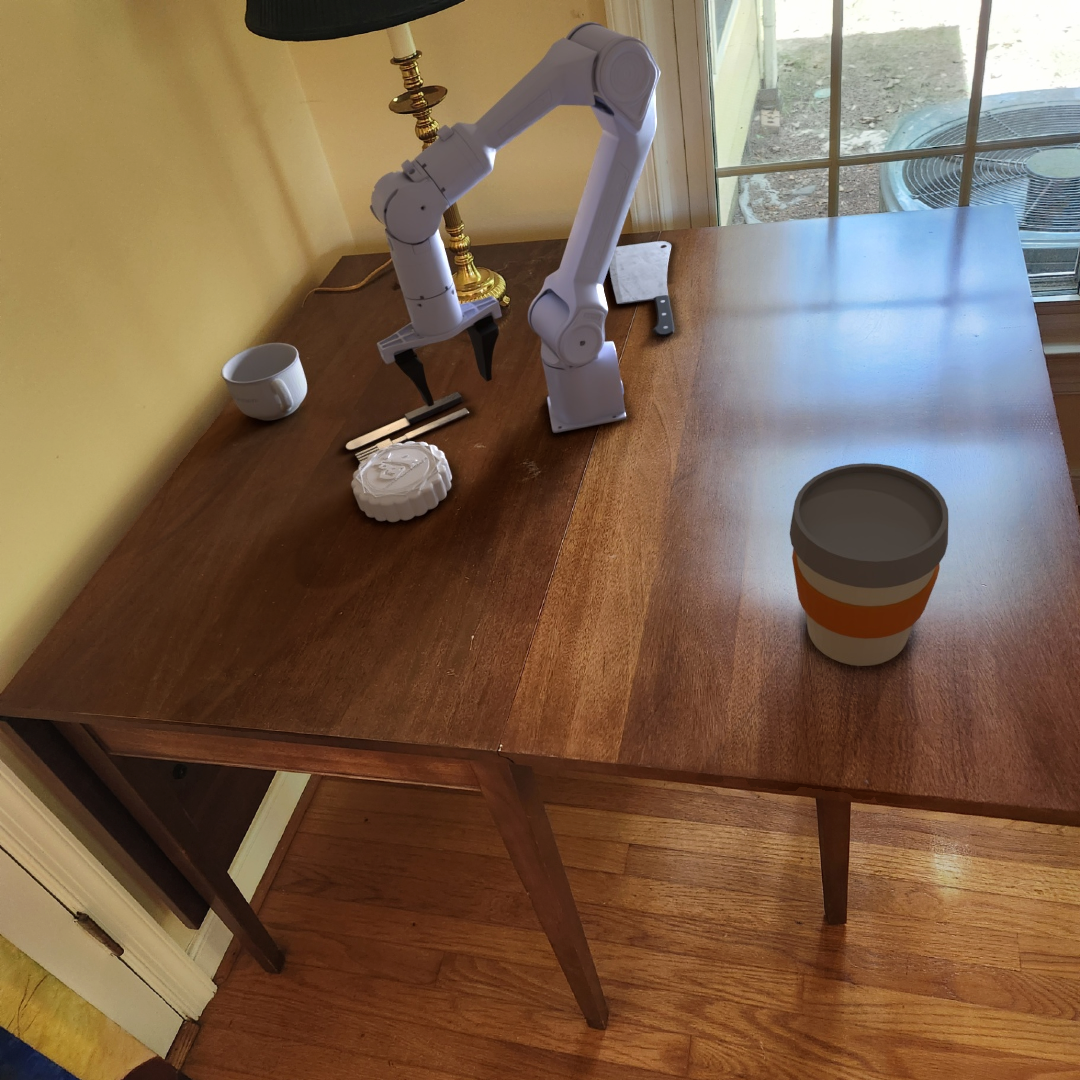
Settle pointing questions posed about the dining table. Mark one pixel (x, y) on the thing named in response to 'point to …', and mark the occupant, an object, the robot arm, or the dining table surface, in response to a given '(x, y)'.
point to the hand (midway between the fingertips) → (457, 389)
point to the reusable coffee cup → (866, 558)
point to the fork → (412, 434)
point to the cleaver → (644, 279)
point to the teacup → (266, 380)
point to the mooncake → (401, 481)
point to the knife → (406, 421)
